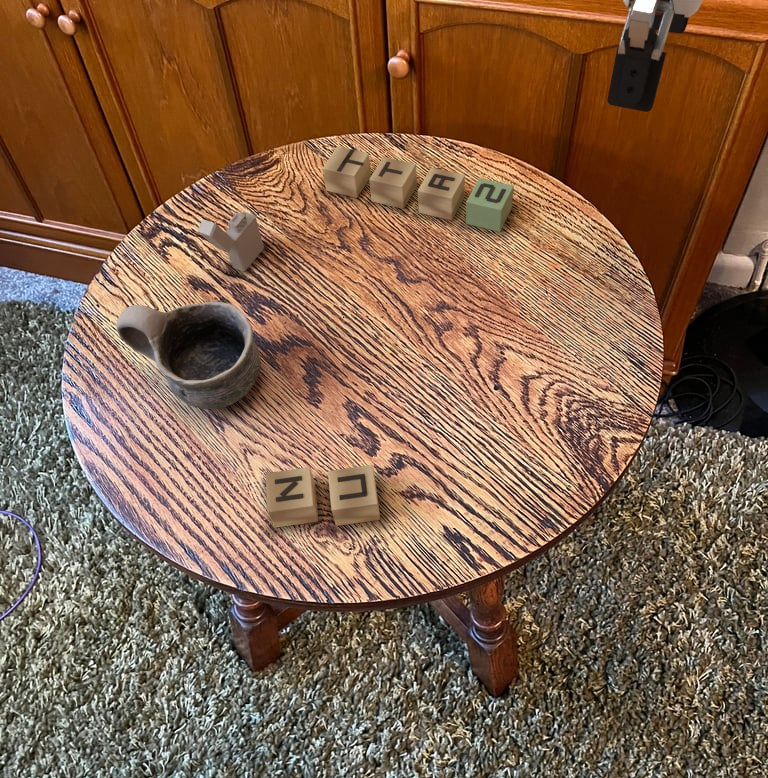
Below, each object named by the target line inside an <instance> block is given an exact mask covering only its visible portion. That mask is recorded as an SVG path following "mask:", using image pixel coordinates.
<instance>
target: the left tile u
mask: <svg viewBox="0 0 768 778" xmlns="http://www.w3.org/2000/svg"><path fill="white" fill-rule="evenodd" d="M327 478H328V479H327V480H328V489H329V499H330V509H331V513H332V517H333V520H334V523H335V526H336V527H338V526H346V525H353V524H360V523H367V522H368V523H369V522H373V521H374V522H375V521H380V520H381V513H380V506H379V498H378V490H377V482H376V477H375V471H374V465H373V464H369V465H362V466H354V467H347V468H340V469H333V470H328V471H327Z"/></svg>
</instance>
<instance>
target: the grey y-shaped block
mask: <svg viewBox="0 0 768 778" xmlns="http://www.w3.org/2000/svg"><path fill="white" fill-rule="evenodd" d="M227 225H228V228H227V229H226V231H225V230H223V228H221V227H220V226H219V225H218V224H217V223H215V222H212V221H209V220H206V219H202V220H201V222H200V225H199V228H198V230H197V233H198V234H199V235H201V236H202V238H204V239H205V240H206V241H208V242H209V243H210V244H211V245H212V246H213V247H214V248H216V249H218V250H221V251H224V252H226V253H228V256H229V260H230V263H231V266H232V268H233V269H235V270H238V271H241V272H246V271H247V270H248V269H249V268H250V266H251V265H252V264H253V262H254V261H255V260H256V259H257V258H258V257H259V255H260V254H261V252H263V251H264V249H265V246H264V241H263V239H262V235H261V231H260V227H259V224H258V221H257V217H256V215H255V214H253V213H249V212H247V211H242V212H236V213H235V214H234V215H233V216H232V217H231V218H230V220H229V221H227Z"/></svg>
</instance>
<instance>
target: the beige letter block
mask: <svg viewBox="0 0 768 778" xmlns="http://www.w3.org/2000/svg"><path fill="white" fill-rule="evenodd" d="M371 170H372V169H371V160H370V154H369V152H365V151H360V150H357V149H353V148H346V147H342V146H338V145H337V146H336V148H335V149H334V150H333V152H332V154H330V157H329V158H328V159H327V161H326V162H325V164H324V166H323V167H322V173H323V181H324V186H325V191H327V192H330V193H335V194H340V195H342V196H347V197H351V198H354V199H355V198H356V199H357V198H359V196H360V194H361V192H363V189H364V188H365V186H366V185H367V183H368V182H369V179H370V177H371V176H372V171H371Z"/></svg>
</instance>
